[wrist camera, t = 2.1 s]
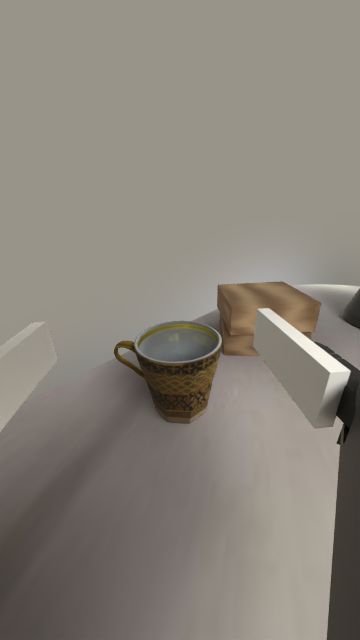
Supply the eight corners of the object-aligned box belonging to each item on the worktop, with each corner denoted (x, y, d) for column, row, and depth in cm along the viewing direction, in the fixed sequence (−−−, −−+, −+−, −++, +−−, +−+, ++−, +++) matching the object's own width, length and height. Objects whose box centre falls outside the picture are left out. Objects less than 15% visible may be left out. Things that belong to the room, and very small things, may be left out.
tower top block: (279, 303, 49) (282, 281, 47) (314, 331, 36) (321, 303, 34) (217, 306, 49) (217, 284, 47) (230, 335, 36) (231, 307, 34)
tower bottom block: (280, 324, 50) (283, 304, 48) (305, 358, 38) (311, 333, 36) (219, 324, 52) (220, 304, 50) (223, 356, 39) (224, 332, 37)
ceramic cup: (217, 380, 33) (219, 320, 29) (222, 440, 24) (225, 364, 20) (135, 377, 35) (125, 320, 30) (109, 432, 25) (91, 361, 21)
